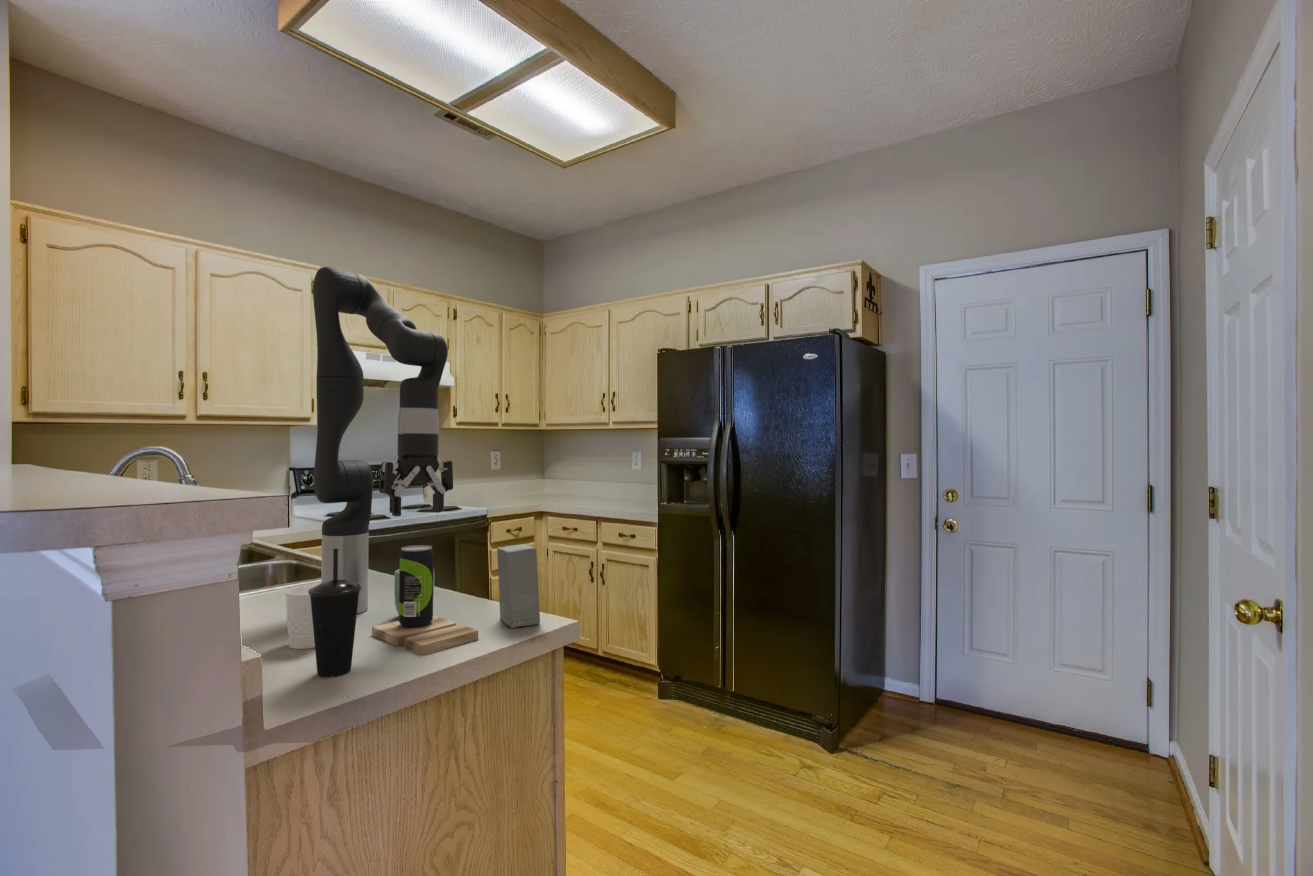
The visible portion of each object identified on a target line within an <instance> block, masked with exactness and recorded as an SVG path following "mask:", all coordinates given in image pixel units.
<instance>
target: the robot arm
mask: <svg viewBox="0 0 1313 876" xmlns="http://www.w3.org/2000/svg"><path fill="white" fill-rule="evenodd" d="M312 286H313V287H312V298H313V299H312V300H313V310H314V311H313V312H314V319H315V321H314V323H315V330H316V350H317V351H316V358H317V359H316V409H317V411H316V413H317V415H316V416H317V418H316V419H317V422H316V423H317V430H316V445H315V447H316V448H315V459H314V469H313V471H314V472H313V489H314V494H315V496H316V498H317V500H318V501H319V502H320V503H322V504H336V503H337V504H338V503H346V504H345V507H344V508H343V510H341V511H340V512H339V513H337V514H336V515H334V516H331V517H329V518H327V519H325V520H324V521H323V522H322V525H321V570H320V571H321V574H320V575H321V579H320V581H321V583H324V582H327V581H331V580H333V549H338V580H347V581H351V582H353V583H356V584H359V585H361V590H360V591H359V598H358V607H357V614H361V613H363V612H366V611H367V610H368V608H369V607H368V606H369V605H368V604H369V602H368V599H369V548H370V547H369V537H370V536H369V535H370V534H369V529H370V522H371V519H372V507H373V506H372V505H373V492H374V491H373V490H374V475H373V470H372V467H371V465H370V464H369V463H368V462H367V461H366V460H362V459H354V460H353V459H351V460H348V459H347V460H346V459H345V460H342V459H341V460H339V454H340V453H339V452H340V447H341V442H342V440H343V436H344V434H345V433H346V431H347V429H348V427H349V426H350V424H351V423H352V422H353V420H354V419H355V418H356V416H357V414H358V413H359V411H360V410H361V407H362V405H363V402H364V397H365V396H364V393H365V390H364V386H365V385H364V383H365V381H364V380H365V379H364V371H363V370H364V369H363V367H362V366H361V363H360V361H359V360H358V358H357V356H356V355H355V353H354V352H353V349H352V348H351V346H350V345H349V344H348V341H347V340H346V338H345V336H344V333H343V331H342V328H341V322H340V313H342V314H347V315H358V316H362V317H364V318H365V323H366V326H367V328H368V330H369V331H370V332H371V333H372V335H373V336H375V338H377V339H378V340H380V341H381V342H382V343H383V344H385V347H386V349H387V350H388V352H389V354H390V357H391V358H392V359H394V361H396V362H398V363H399V364H402V365H404V366H405V365H406V366H415V367H420V368H421V369H420V371H419V373H418V375H417V376H416V377H415V376H414V377H408V378H404V379H402V380H401V383H400V384H399V386H400V387H399V410H398V411H399V412H398V417H397V451H396V452H397V461H396V462H392V461H382V462H380V463H381V464H380V473H379V485H378V487H379V488H378V491H379V493H380V494H383V495H387V496H388V497H389V512H390V513H389V514H391V515H392V516H393V517H401V516H402V496H401V494H402V493H403V492H404V490H405V489H406V488H407V487H408V486H409V485H410V484H412V485H413V484H414V485H416V484H419V483H420V484H427V486H429V487H430V489H431V490H432V491H433V492H434V493H432V512H433V513H437V514H438V513H442V511H443V510H444V506H445V493H447V492H449V491H452V490H453V489H454V474H453V471H454V469H453V462H452V460H441V461H439V460H438V456H439V436H440V433H439V432H440V423H439V419H440V418H439V410H438V409H439V407H438V405H439V403H438V402H439V393H438V392H439V388H440V387H439V386H440V384H441V381H442V377H443V372H444V370H445V367H446V362H447V360H448V353H449V352H448V351H449V350H448V345H447V342H446V340H445V338H444V337H443V336H442V335H441V334H439V333H437V332H431V331H426V330H425V331H424V330H419V329H417V327H416V324H415V323H414V322H413V321H412V320H411V319H410V318H408V317H407V316H406V315H405V314H404V313H402V312H400V311H399V310H398V309H396V308H395V307H393V305H391V304H390V303H389V302H388V301H387V300H386V299H385V297H384V296H383V295H382V294H381V293H380V291H379V290H378V289H377V288H376V287H375V285H374V284H373V283H372V282H371V281H370V280H369V279H368V278H367V277H365V275H361V274H359V273H357V272H352V271H348V270H344V269H339V268H334V267H330V266H323V267H322V266H321V268H319V269H318V270H317V271H316V274H315V276H314V278H313V285H312ZM438 469H439V472H440V477H441V478H439V476H438V475H437V474H436V472H437V471H438ZM396 471H397V472H398V475H397V477H396V478H395V480H393V476H394V475H393V474H395V472H396ZM321 583H320V584H321Z"/></svg>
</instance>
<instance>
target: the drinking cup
mask: <svg viewBox="0 0 1313 876" xmlns="http://www.w3.org/2000/svg"><path fill="white" fill-rule="evenodd" d="M316 585H317V586H315V587H313V588H311V589H309V591H308V594H309V595H310V598H311V609H312V620H313V631H314V642H315V647H314V650H315V661H316V671H317V672H316V673H317V676H318V677H319V678H328V679H329V678H336V677H340V676H344V675H346V674H349V673H350V672H351V671H352V670H351V669H352V664H353V663H352V660H353V654H354V653H353V652H354V645H355V635H356V633H355V632H356V624H357V616H358V613H357V607H358V598H359V591H360V590H361V585H359V584H356V583H353V582H351V581H347V580H338V549H333V580H331V581H327V582H324V583H319V584H316Z"/></svg>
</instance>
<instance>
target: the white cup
mask: <svg viewBox="0 0 1313 876" xmlns="http://www.w3.org/2000/svg"><path fill="white" fill-rule="evenodd" d="M317 585H318V584H311V585H310V584H309V585H302V586H298V587H293V588H290V589H287V590H286V591H285V603H286V604H285V605H286V608H285V609H286V626H287V633H288V647H289V648H290V649H291V648H292V649H293V650H296V649H297V650H307V649H315V642H314V631H313V620H312V609H311V598H310V595H309V594H308V591H309V589H311V588H313V587H315V586H317Z"/></svg>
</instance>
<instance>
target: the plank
mask: <svg viewBox="0 0 1313 876" xmlns="http://www.w3.org/2000/svg"><path fill="white" fill-rule="evenodd" d="M455 625H457V623H456V622H454V621H452V620H448V619H446V618H443V617H440V616H437V615H434V614H433V619H432V621H431V622H430V624H428V625H426V626H423V627H417V628H406V627H403V626H402V625H401V624H400V623H399V620H395V621H390V622H387V623H382V624H378V625H373V626H371V635H372V636H373V637H376V638H378V639H380V640H383V641H385V642H387V643H390V644H392V645H395V646H396V647H400V646H401V647H402V644H405V638H408V637H412V636H416V635H420V634H424V633H428V632H432V631H436V630H440V629H444V628H448V627H451V626H455Z"/></svg>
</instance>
